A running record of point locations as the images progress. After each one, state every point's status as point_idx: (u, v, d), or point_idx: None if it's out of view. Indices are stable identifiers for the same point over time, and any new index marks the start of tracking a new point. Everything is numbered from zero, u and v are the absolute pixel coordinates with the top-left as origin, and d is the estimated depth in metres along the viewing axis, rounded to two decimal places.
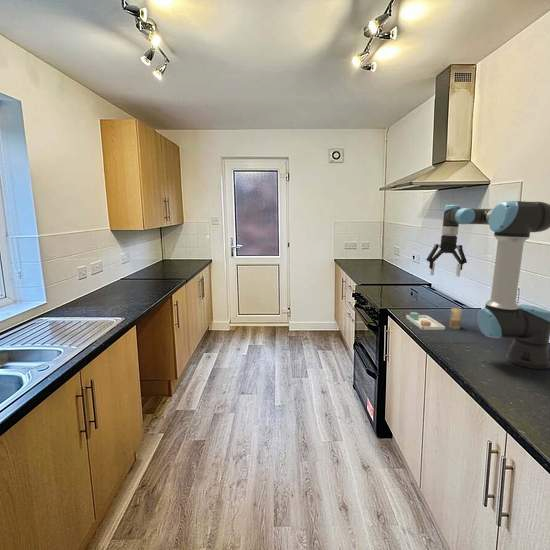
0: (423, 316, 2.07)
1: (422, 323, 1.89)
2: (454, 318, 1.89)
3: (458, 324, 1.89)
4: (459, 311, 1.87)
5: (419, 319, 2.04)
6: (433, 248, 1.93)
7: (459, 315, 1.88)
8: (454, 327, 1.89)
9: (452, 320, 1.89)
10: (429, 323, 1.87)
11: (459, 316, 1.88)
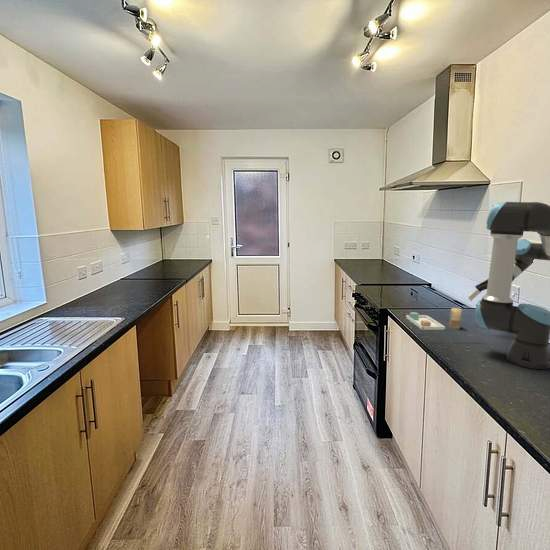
0: (423, 316, 2.07)
1: (422, 323, 1.89)
2: (454, 318, 1.89)
3: (458, 324, 1.89)
4: (459, 311, 1.87)
5: (419, 319, 2.04)
6: None
7: (459, 315, 1.88)
8: (454, 327, 1.89)
9: (452, 320, 1.89)
10: (429, 323, 1.87)
11: (459, 316, 1.88)
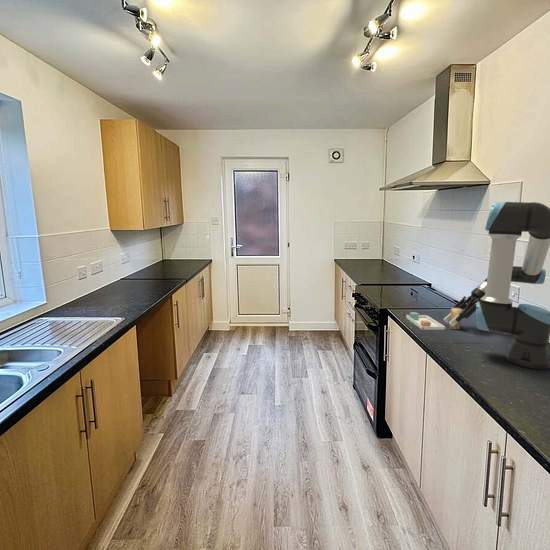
0: (423, 316, 2.07)
1: (422, 323, 1.89)
2: None
3: (458, 324, 1.89)
4: (459, 311, 1.87)
5: (419, 319, 2.04)
6: None
7: None
8: (454, 327, 1.89)
9: None
10: (429, 323, 1.87)
11: None
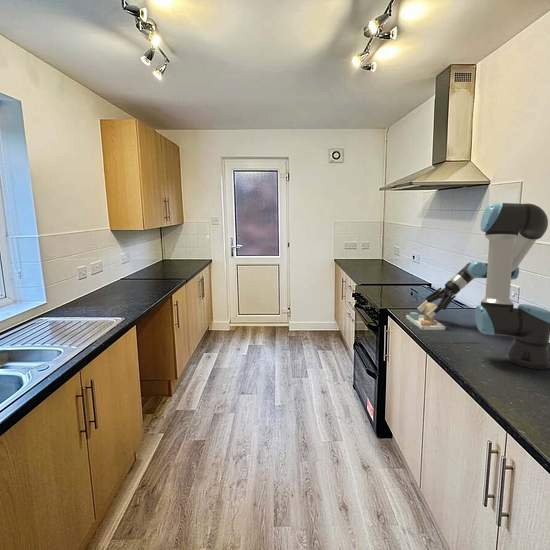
0: (423, 316, 2.07)
1: (422, 323, 1.89)
2: (427, 313, 1.94)
3: (432, 318, 1.94)
4: (432, 306, 1.93)
5: (419, 319, 2.04)
6: None
7: None
8: None
9: (426, 314, 1.95)
10: (429, 323, 1.87)
11: None
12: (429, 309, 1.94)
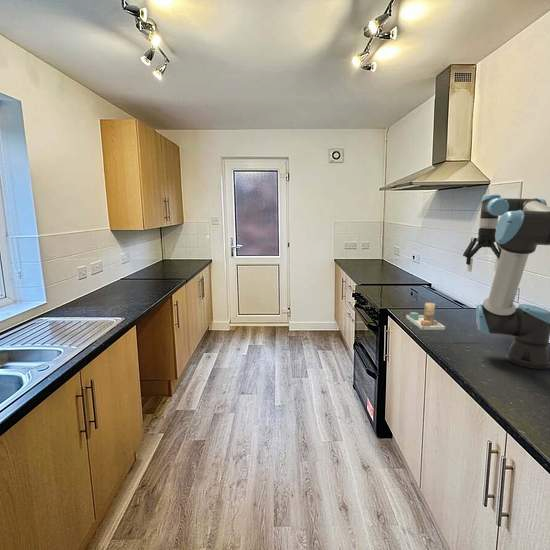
0: (423, 316, 2.07)
1: (422, 323, 1.89)
2: (427, 313, 1.94)
3: (431, 318, 1.94)
4: (432, 306, 1.93)
5: (419, 319, 2.04)
6: (470, 242, 1.77)
7: (432, 309, 1.93)
8: None
9: (425, 315, 1.95)
10: (429, 323, 1.87)
11: (432, 310, 1.93)
12: (429, 309, 1.93)
